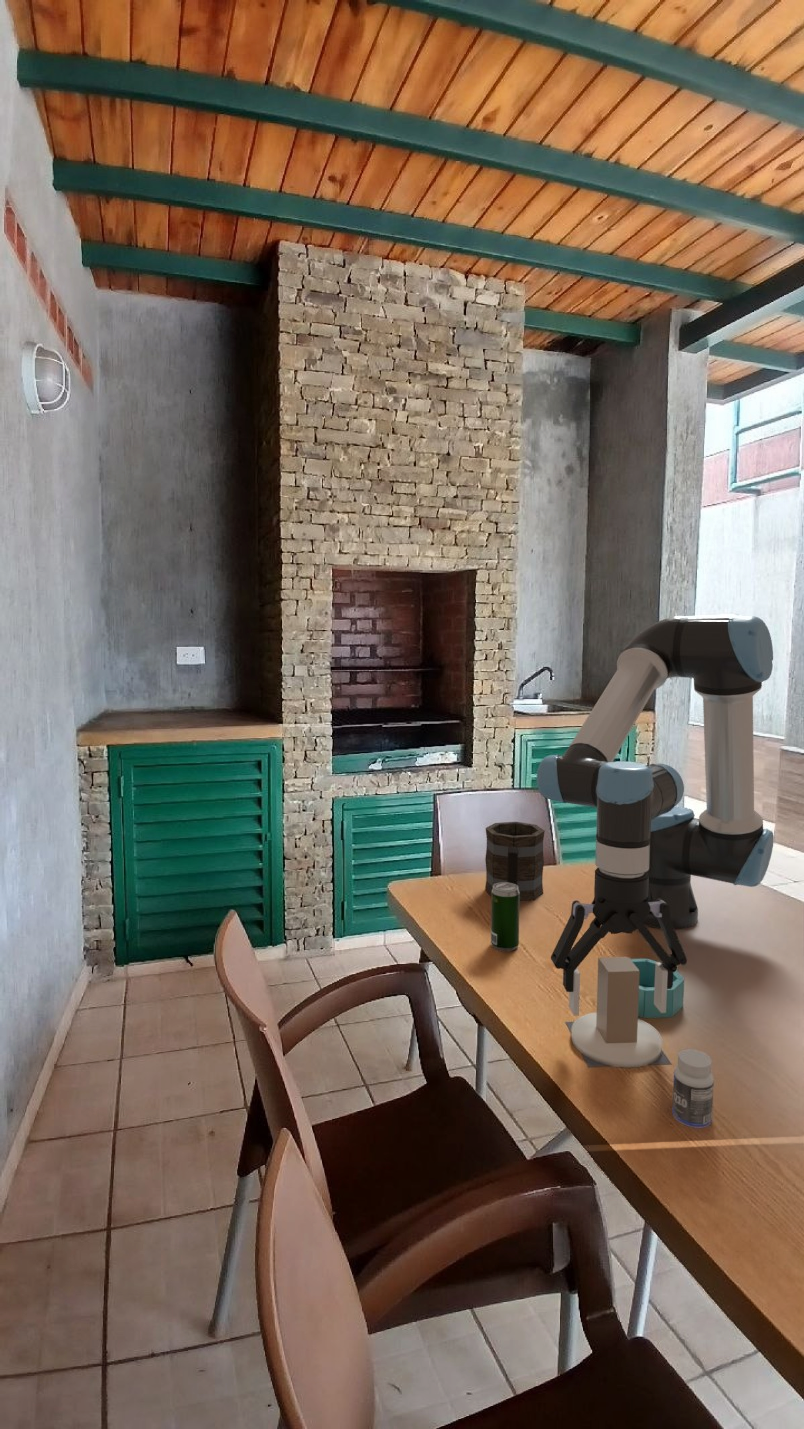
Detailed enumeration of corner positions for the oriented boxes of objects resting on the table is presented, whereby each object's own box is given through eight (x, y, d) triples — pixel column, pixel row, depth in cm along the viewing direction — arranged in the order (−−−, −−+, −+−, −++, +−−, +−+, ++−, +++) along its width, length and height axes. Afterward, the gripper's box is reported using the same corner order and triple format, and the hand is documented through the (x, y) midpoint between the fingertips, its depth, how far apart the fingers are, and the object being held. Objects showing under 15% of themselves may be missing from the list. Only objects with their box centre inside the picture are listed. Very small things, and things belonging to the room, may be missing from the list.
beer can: (503, 954, 143) (504, 893, 141) (485, 944, 147) (485, 885, 146) (524, 947, 146) (525, 888, 144) (506, 938, 150) (506, 880, 149)
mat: (640, 1022, 119) (640, 1019, 119) (671, 1067, 107) (671, 1063, 107) (565, 1024, 118) (565, 1021, 118) (588, 1070, 106) (588, 1067, 106)
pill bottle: (665, 1108, 98) (668, 1047, 97) (700, 1106, 98) (703, 1045, 97) (682, 1132, 93) (685, 1069, 92) (718, 1130, 94) (722, 1067, 93)
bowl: (664, 985, 131) (665, 958, 130) (691, 1018, 120) (693, 989, 119) (601, 987, 130) (602, 959, 129) (623, 1021, 119) (624, 991, 119)
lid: (642, 1017, 119) (645, 944, 118) (676, 1065, 106) (680, 984, 105) (561, 1020, 119) (563, 946, 117) (585, 1069, 106) (588, 986, 104)
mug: (486, 880, 184) (487, 820, 182) (543, 883, 181) (544, 822, 179) (480, 910, 164) (481, 844, 163) (543, 915, 162) (544, 847, 160)
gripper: (693, 859, 114) (686, 994, 116) (532, 863, 112) (529, 999, 115) (716, 876, 106) (709, 1020, 109) (544, 880, 105) (541, 1025, 107)
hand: (616, 1009), depth 112 cm, fingers open, 12 cm apart
